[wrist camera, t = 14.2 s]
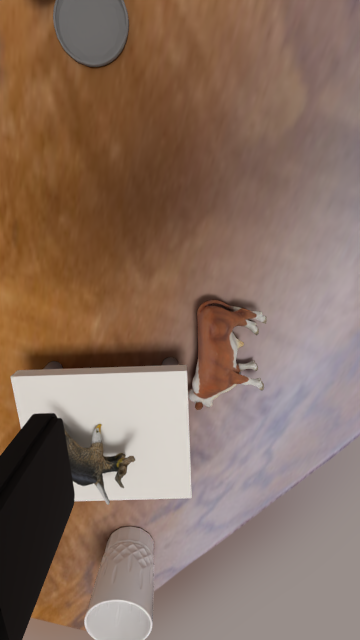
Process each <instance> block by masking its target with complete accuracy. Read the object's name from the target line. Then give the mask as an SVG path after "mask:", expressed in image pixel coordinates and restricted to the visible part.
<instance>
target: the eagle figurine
mask: <svg viewBox="0 0 360 640" xmlns="http://www.w3.org/2000/svg"><path fill="white" fill-rule="evenodd" d="M101 426H102V424H99V425H98V426H97V427H96V429H95V430H94V432H93V435H92V442H91V446H90V447H89V448H84V447H81V446H80V445H78V444H77V443H76V442H75V441H74V440H73V439H72V438H71V437H70V436H69V435H68V433H67V431H66V429H65V428H64V430H65V436H66V442H67V449H68V455H69V461H70V467H71V473H72V480H73V482H75V483H77V484H78V485H81V486H87V485H91V484H93V483H94V484H95V485H96V487H97V488H98V490H99V491H100V493H101V495H102V497H103V498H104V500H105V502H106V503H107V504H108V505H109V503H110V502H109V499H108V496H107V494H106V492H105V489H104V482H103V475H102V474H103V473H107V472H117V474H116V476H115V481H116V482H117V483H118V484H119V486H120V487H121V488H124V486H123V484H122V482H121V478H123V476H124V475H126V473H127V466H128V465H129V464H130V463H131V462H134V461H135V458H134V456H129V457H128V458H125V457H126V455H125V454H124V453H119V454H117V455H116V456H111V457H110V456H107V457H105V456H103V453H104V450H103V443H102V439H101Z"/></svg>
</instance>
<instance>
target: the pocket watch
mask: <svg viewBox="0 0 360 640" xmlns="http://www.w3.org/2000/svg"><path fill="white" fill-rule="evenodd" d="M53 19H54V27H55V31H56V35H57V37H58V39H59V41H60V43H61V45H62V47H63V48H64V50H65V51H66V52H67V53H68V54H69V55H70V56H71V57H72V58H73V59H74V60H76V61H77V62H79V63H81V64H84V65H86V66H89V67H99V66H103V65H106V64H108V63H110V62H112V61H113V60H114V59H115V58H117V56H118V55H119V54H120V53H121V51H122V49H123V48H124V45H125V43H126V40H127V36H128V31H129V29H128V27H129V21H128V13H127V9H126V6H125V3H124V1H123V0H56V2H55V6H54V13H53Z"/></svg>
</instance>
